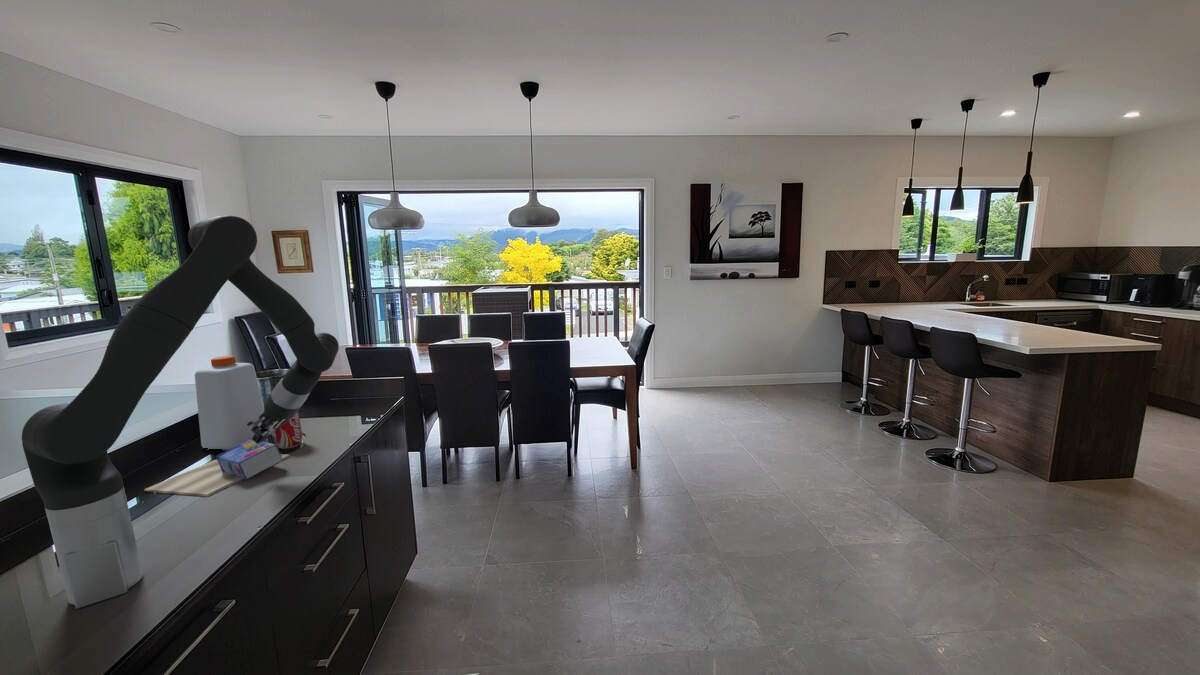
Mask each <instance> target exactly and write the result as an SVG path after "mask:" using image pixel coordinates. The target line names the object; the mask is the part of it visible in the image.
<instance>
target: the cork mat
mask: <svg viewBox="0 0 1200 675" xmlns="http://www.w3.org/2000/svg"><path fill="white" fill-rule="evenodd" d="M280 455H281V457H282V460H281V461H280V462H282V461H284V460H286V459H287V458H289V457H290V454H284V453H280ZM242 480H244V479H243V478H240V477H237V476H234V475H231V474H228V473H225V472H222V470H221V468H220V465H219V463H218V461H217V458H216V459H213V460H210V461H208V462H207V463H204V464H201V465H198V466H197V467H194V468H192V469H190V470H187V471H185V472H182V473H180V474H178V475H175V476H173V477H170V478H168V479H166V480H164V481H161V482H159V483H156V484H154V485H152V486H149V487H146V488H144V492H145V491H147V492H146V493H157V494H158V493H159V494H170V495H182V496H183V495H185V496H194V497H208V498H209V497H210V496H211V495H214V494H215V493H218V492H219V491H221V490H224V489H225V488H228V487H230V486H233V485H234V484H236V483H238V482H241V481H242Z"/></svg>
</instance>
